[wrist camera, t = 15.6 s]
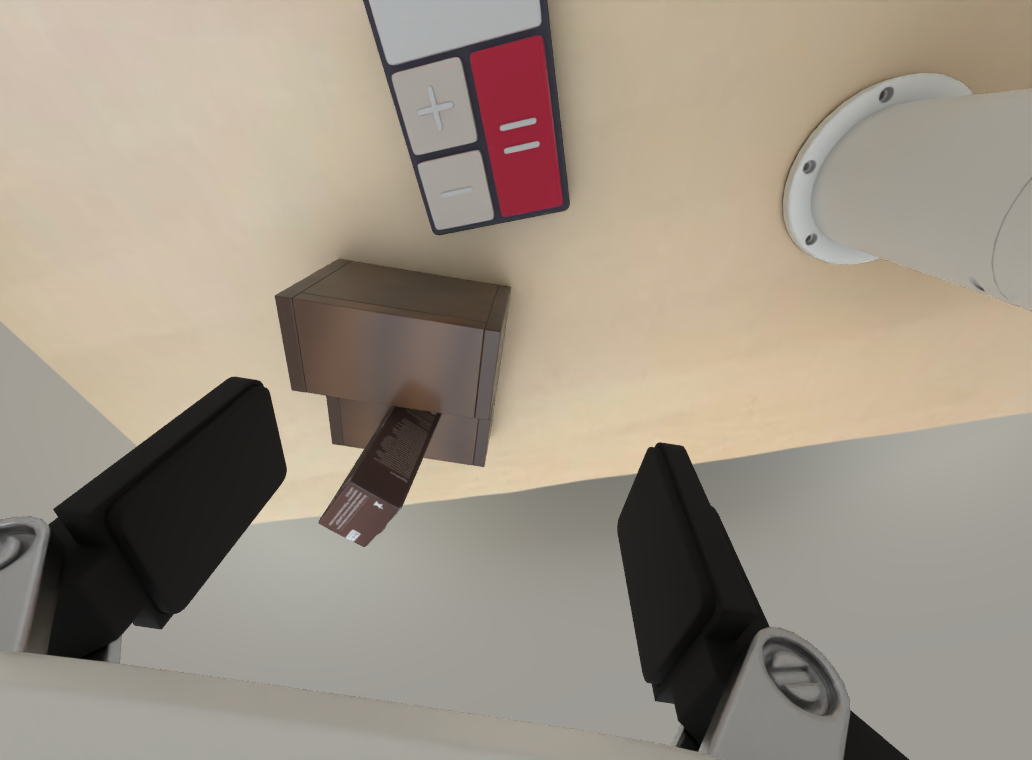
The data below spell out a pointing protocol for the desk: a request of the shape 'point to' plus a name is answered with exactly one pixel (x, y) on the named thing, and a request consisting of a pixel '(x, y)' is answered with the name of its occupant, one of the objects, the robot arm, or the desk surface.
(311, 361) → the step shelf
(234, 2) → the desk surface
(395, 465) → the box
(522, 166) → the calculator
